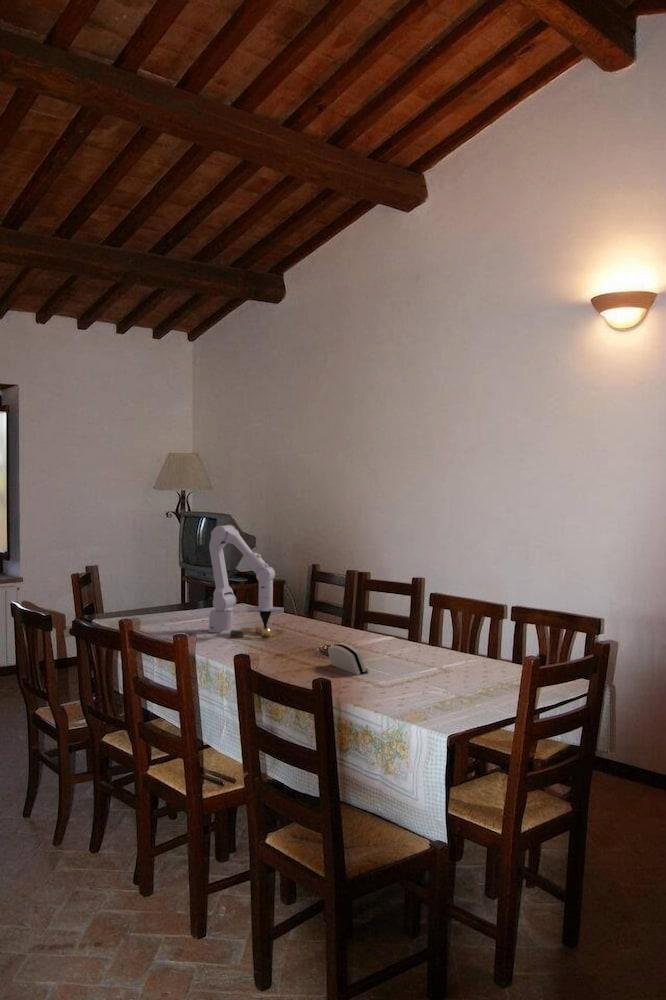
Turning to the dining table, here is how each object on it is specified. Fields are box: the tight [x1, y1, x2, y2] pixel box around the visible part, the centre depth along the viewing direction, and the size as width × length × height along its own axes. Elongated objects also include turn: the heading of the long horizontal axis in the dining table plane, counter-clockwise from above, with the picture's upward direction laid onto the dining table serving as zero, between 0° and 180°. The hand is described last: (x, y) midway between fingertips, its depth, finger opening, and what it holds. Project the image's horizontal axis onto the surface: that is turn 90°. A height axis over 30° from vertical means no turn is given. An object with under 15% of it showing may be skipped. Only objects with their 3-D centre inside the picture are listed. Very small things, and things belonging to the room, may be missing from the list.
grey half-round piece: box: [327, 642, 370, 676], centre depth 288 cm, size 17×5×10 cm, turn 33°
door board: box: [225, 627, 287, 642], centre depth 337 cm, size 19×23×4 cm
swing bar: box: [254, 623, 271, 637], centre depth 336 cm, size 14×3×3 cm, turn 20°
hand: (265, 630), depth 339 cm, fingers closed, pressing on swing bar
